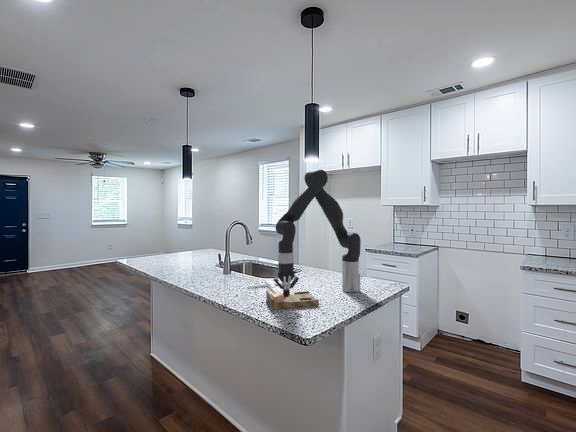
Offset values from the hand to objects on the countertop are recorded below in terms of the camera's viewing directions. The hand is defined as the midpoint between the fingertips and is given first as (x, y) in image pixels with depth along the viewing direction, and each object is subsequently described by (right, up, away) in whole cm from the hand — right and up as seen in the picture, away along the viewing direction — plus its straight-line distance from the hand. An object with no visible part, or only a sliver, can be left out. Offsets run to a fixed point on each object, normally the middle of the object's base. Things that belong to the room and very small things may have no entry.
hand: (286, 296), depth 149 cm
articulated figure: (-7, -4, +29) cm, 30 cm away
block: (-4, -3, -2) cm, 5 cm away
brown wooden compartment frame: (+3, -4, +4) cm, 7 cm away
